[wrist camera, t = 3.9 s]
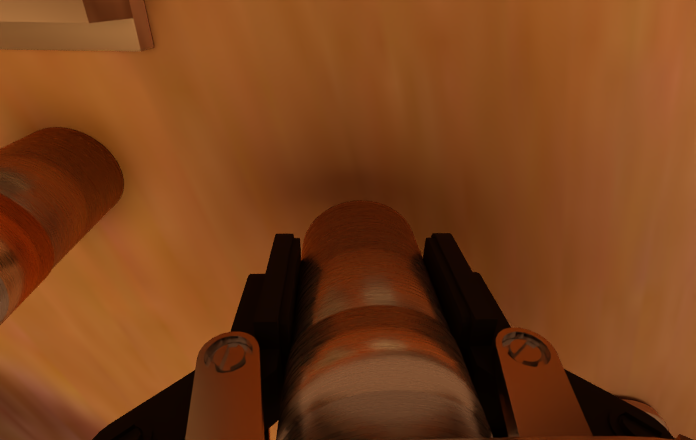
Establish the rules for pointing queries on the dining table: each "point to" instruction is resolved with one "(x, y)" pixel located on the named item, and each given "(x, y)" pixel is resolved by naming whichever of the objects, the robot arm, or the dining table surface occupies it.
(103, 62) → the dining table surface
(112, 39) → the tray
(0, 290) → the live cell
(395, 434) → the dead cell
